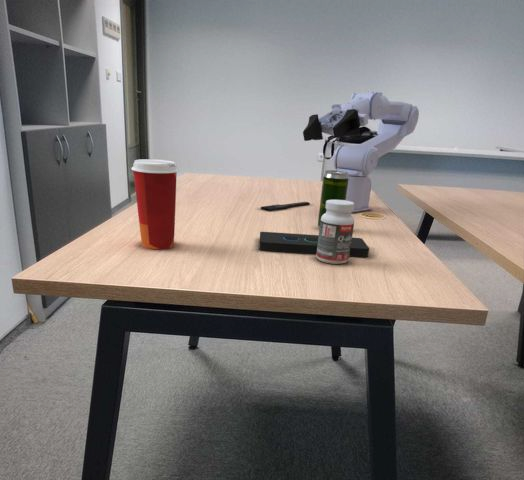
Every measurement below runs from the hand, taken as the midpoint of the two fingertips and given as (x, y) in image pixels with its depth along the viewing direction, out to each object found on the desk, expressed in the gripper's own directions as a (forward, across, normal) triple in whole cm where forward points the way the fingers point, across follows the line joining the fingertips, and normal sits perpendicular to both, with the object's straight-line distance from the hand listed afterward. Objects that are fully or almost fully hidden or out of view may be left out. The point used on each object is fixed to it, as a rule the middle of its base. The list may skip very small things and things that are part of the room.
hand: (319, 134), depth 104 cm
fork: (-3, -15, +18) cm, 24 cm away
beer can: (+10, +5, +18) cm, 21 cm away
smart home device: (+27, +11, +14) cm, 32 cm away
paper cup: (+46, -8, +5) cm, 47 cm away
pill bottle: (+31, +18, +14) cm, 38 cm away
